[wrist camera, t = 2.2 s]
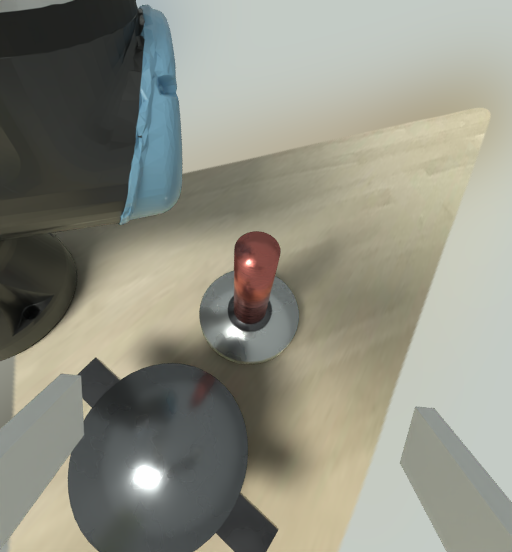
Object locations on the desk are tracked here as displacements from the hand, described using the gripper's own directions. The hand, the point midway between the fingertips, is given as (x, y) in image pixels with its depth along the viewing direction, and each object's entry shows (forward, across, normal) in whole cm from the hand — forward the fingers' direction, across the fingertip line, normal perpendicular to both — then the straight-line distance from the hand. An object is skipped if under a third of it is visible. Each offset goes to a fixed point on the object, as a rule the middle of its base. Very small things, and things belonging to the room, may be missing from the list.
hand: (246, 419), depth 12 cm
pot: (+11, -5, -12) cm, 17 cm away
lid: (+20, 0, -4) cm, 20 cm away
